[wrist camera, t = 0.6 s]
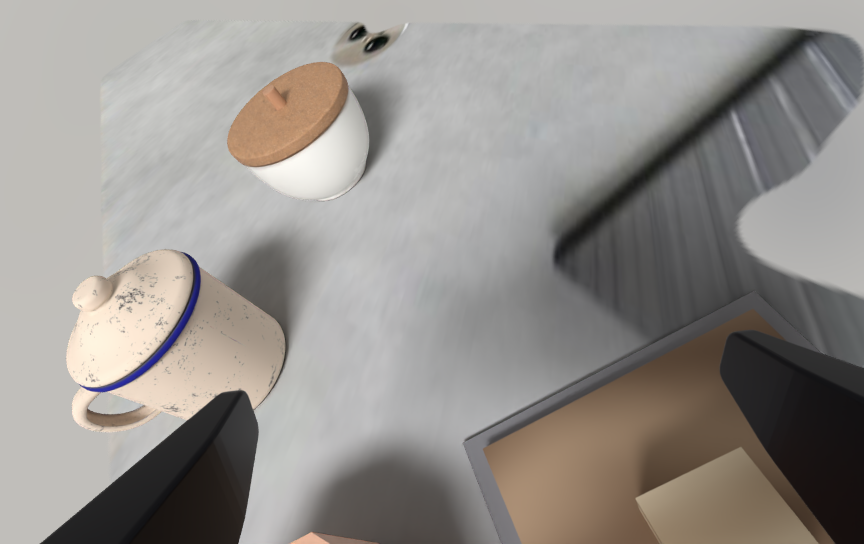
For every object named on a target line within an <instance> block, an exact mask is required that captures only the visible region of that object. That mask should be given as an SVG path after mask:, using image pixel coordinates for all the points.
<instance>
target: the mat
mask: <svg viewBox="0 0 864 544" xmlns="http://www.w3.org/2000/svg"><path fill="white" fill-rule="evenodd" d="M751 309H754V310H755V311H756V312H757V313H758V314H759V315H760V316H761V317H762V318H763V319H764V320H765V321H766V322H767V323H769V324H770V325H771V326H772V327H773V328H774V329H775V330H776V331H777V332H778V333H779V334H780V335H781V336H782V337H783V338H784V339H785V340H786V341H788V342H791V343H793V344H796V345H799V346H802V347H805V348H808V349H810V350H813V351H816V352H819V353H821V352H820V351H819V350H817V349H816V348H815V347H814V346H813V345H812V344H811V343H810V342H809V341H808V340H807V339H806V338H805V337H804V336H802V335H801V334H800V333H799V332H798V331H797V330H796V329H795V328H794V327H793V326H792V325H791V324H790V323H788V322H787V321H786V320H785V319H784V318H783V317H782V316H781V315H780V314H779V313H778V312H777V311H776V310H775V309H773V308H772V307H771V306H770V305H769V304H768V303H767V302H766V301H765V300H764V299H763V298H762V297H761V296H759V295H758V294H757V293H756V292H755V291H752V292H751V293H749V294H747V295H745V296H743V297H741V298H739V299H737V300H735V301H733V302H731V303H730V304H728V305H726V306H724V307H722V308H720V309H718V310H716V311H714V312H712V313H710V314H708V315H707V316H705V317H703V318H701V319H699V320H697V321H695V322H693V323H691V324H689V325H687V326H686V327H684V328H682V329H680V330H678V331H676V332H674V333H672V334H670V335H668V336H666V337H664V338H663V339H661V340H659V341H657V342H655V343H653V344H651V345H649V346H647V347H645V348H643V349H642V350H640V351H638V352H636V353H634V354H632V355H630V356H628V357H626V358H624V359H622V360H620V361H619V362H617V363H615V364H613V365H611V366H609V367H607V368H605V369H603V370H601V371H599V372H598V373H596V374H594V375H592V376H590V377H588V378H586V379H584V380H582V381H580V382H578V383H576V384H575V385H573V386H571V387H569V388H567V389H565V390H563V391H561V392H559V393H557V394H555V395H554V396H552V397H550V398H548V399H546V400H544V401H542V402H540V403H538V404H536V405H534V406H532V407H531V408H529V409H527V410H525V411H523V412H521V413H519V414H517V415H515V416H513V417H511V418H510V419H508V420H506V421H504V422H502V423H500V424H498V425H496V426H494V427H492V428H490V429H488V430H487V431H485V432H483V433H481V434H479V435H477V436H475V437H473V438H471V439H469V440H467V441H466V442H464V443H463V445H464V448H465V450H466V453H467V455H468V458H469V460H470V463H471V466H472V468H473V471H474V473H475V476H476V479H477V481H478V484H479V486H480V489H481V491H482V494H483V497H484V499H485V502H486V504H487V507H488V510H489V512H490V515H491V517H492V520H493V522H494V525H495V528H496V530H497V533H498V535H499V538H500V541H501V543H502V544H522V543H521V541H520V538H519V536H518V533H517V531H516V529H515V526H514V524H513V521H512V519H511V517H510V514H509V512H508V509H507V507H506V504H505V502H504V500H503V497H502V495H501V492H500V490H499V487H498V485H497V483H496V480H495V478H494V475H493V473H492V471H491V468H490V466H489V463H488V461H487V458H486V456H485V454H484V451H483V448H485V447H487V446H489V445H491V444H493V443H495V442H497V441H499V440H501V439H502V438H504V437H506V436H508V435H510V434H512V433H514V432H516V431H518V430H520V429H522V428H524V427H526V426H528V425H529V424H531V423H533V422H535V421H537V420H539V419H541V418H543V417H545V416H547V415H549V414H551V413H553V412H555V411H556V410H558V409H560V408H562V407H564V406H566V405H568V404H570V403H572V402H574V401H576V400H578V399H580V398H582V397H583V396H585V395H587V394H589V393H591V392H593V391H595V390H597V389H599V388H601V387H603V386H605V385H607V384H609V383H610V382H612V381H614V380H616V379H618V378H620V377H622V376H624V375H626V374H628V373H630V372H632V371H634V370H636V369H637V368H639V367H641V366H643V365H645V364H647V363H649V362H651V361H653V360H655V359H657V358H659V357H661V356H663V355H664V354H666V353H668V352H670V351H672V350H674V349H676V348H678V347H680V346H682V345H684V344H686V343H688V342H690V341H691V340H693V339H695V338H697V337H699V336H701V335H703V334H705V333H707V332H709V331H711V330H713V329H715V328H717V327H718V326H720V325H722V324H724V323H726V322H728V321H730V320H732V319H734V318H736V317H738V316H740V315H742V314H744V313H745V312H747V311H749V310H751Z"/></svg>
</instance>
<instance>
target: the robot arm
mask: <svg viewBox="0 0 864 544" xmlns="http://www.w3.org/2000/svg"><path fill="white" fill-rule="evenodd" d="M719 370H720V376H721V378H722V380H723V382H724V384H725V385H726V387H727V389H728V390H729V392H730V394H731V395H732V397H733V399H734V400H735V402H736V403H737V405H738V407H739V408H740V410H741V412H742V413H743V415H744V417H745V418H746V420H747V422H748V423H749V425H750V426H751V428H752V430H753V431H754V433H755V435H756V436H757V438H758V439H759V441H760V443H761V444H762V446H763V447H764V449H765V450H766V452H767V453H768V455H769V456H770V457H771V459H772V460H773V462H774V463H775V464H776V466H777V467H778V468H779V470H780V471H781V472H782V474H783V475H784V476H785V478H786V479H787V480H788V482H789V483H790V484H791V486H792V487H793V488H794V490H795V491H796V492H797V494H798V495H799V496H800V498H801V499H802V500H803V502H804V503H805V504H806V506H807V507H808V508H809V510H810V511H811V512H812V514H813V515H814V517H815V518H816V519H817V521H818V522H819V523H820V525H821V526H822V527H823V529H824V530H825V531H826V533H827V534H828V535H829V537H830V538H831V539H832V541H833V542H834V543H835V544H864V368H861V367H858V366H856V365H853V364H850V363H847V362H844V361H841V360H839V359H836V358H833V357H830V356H827V355H824V354H822V353H819V352H816V351H813V350H810V349H808V348H805V347H802V346H799V345H796V344H793V343H791V342H788V341H785V340H782V339H779V338H776V337H774V336H771V335H768V334H765V333H762V332H759V331H756V330H744V331H735V332H732V333H730V334H729V335H728V337H727V339H726V342H725V346H724V350H723V354H722V358H721V362H720V367H719ZM258 433H259V430H258V423H257V420H256V417H255V414H254V411H253V408H252V405H251V402H250V399H249V396H248V394H247V393H246V392H245V391H243V390H235V391H227V392H222V393H220V394H219V395H217V396H216V397H215V398H214V399H212V400H211V401H210V402H209V403H208V404H206V405H205V406H204V407H203V408H202V409H200V410H199V411H198V412H197V413H196V414H194V415H193V416H192V417H191V418H190V419H188V420H187V421H186V422H185V423H184V424H182V425H181V426H180V427H179V428H178V429H177V430H175V431H174V432H173V433H172V434H171V435H169V436H168V437H167V438H166V439H165V440H163V441H162V442H161V443H160V444H159V445H157V446H156V447H155V448H154V449H153V450H151V451H150V452H149V453H148V454H147V455H145V456H144V457H143V458H142V459H141V460H139V461H138V462H137V463H136V464H135V465H134V466H132V467H131V468H130V469H129V470H128V471H126V472H125V473H124V474H123V475H122V476H120V477H119V478H118V479H117V480H116V481H114V482H113V483H112V484H111V485H110V486H108V487H107V488H106V489H105V490H104V491H102V492H101V493H100V494H99V495H98V496H97V497H95V498H94V499H93V500H92V501H91V502H89V503H88V504H87V505H86V506H85V507H83V508H82V509H81V510H80V511H79V512H77V513H76V514H75V515H74V516H73V517H72V518H70V519H69V520H68V521H67V522H65V523H64V524H63V525H62V526H61V527H59V528H58V529H57V530H56V531H55V532H53V533H52V534H51V535H50V536H49V537H47V538H46V539H45V540H44V541H43V542H41V543H40V544H238V543H239V539H240V535H241V532H242V528H243V523H244V519H245V515H246V509H247V504H248V498H249V491H250V485H251V479H252V473H253V466H254V460H255V454H256V448H257V442H258Z"/></svg>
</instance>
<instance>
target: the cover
mask: <svg viewBox="0 0 864 544" xmlns="http://www.w3.org/2000/svg"><path fill="white" fill-rule="evenodd" d="M744 330H756V331H759V332H762V333H765V334H768V335H771V336H774V337H776V338H779V339H782V340H785V339H784V338H783V337H782V336H781V335H780V334H779V333H778V332H777V331H776V330H775V329H774V328H773V327H772V326H771V325H770V324H769V323H767V322H766V321H765V320H764V319H763V318H762V317H761V316H760V315H759V314H758V313H757V312H756V311H755V310H754V309H751V310H749V311H747V312H745V313H744V314H742V315H740V316H738V317H736V318H734V319H732V320H730V321H728V322H726V323H724V324H722V325H720V326H718V327H717V328H715V329H713V330H711V331H709V332H707V333H705V334H703V335H701V336H699V337H697V338H695V339H693V340H691V341H690V342H688V343H686V344H684V345H682V346H680V347H678V348H676V349H674V350H672V351H670V352H668V353H666V354H664V355H663V356H661V357H659V358H657V359H655V360H653V361H651V362H649V363H647V364H645V365H643V366H641V367H639V368H637V369H636V370H634V371H632V372H630V373H628V374H626V375H624V376H622V377H620V378H618V379H616V380H614V381H612V382H610V383H609V384H607V385H605V386H603V387H601V388H599V389H597V390H595V391H593V392H591V393H589V394H587V395H585V396H583V397H582V398H580V399H578V400H576V401H574V402H572V403H570V404H568V405H566V406H564V407H562V408H560V409H558V410H556V411H555V412H553V413H551V414H549V415H547V416H545V417H543V418H541V419H539V420H537V421H535V422H533V423H531V424H529V425H528V426H526V427H524V428H522V429H520V430H518V431H516V432H514V433H512V434H510V435H508V436H506V437H504V438H502V439H501V440H499V441H497V442H495V443H493V444H491V445H489V446H487V447H485V448H483V451H484V454H485V456H486V458H487V461H488V463H489V466H490V468H491V471H492V473H493V475H494V478H495V480H496V483H497V485H498V487H499V490H500V492H501V495H502V497H503V500H504V502H505V504H506V507H507V509H508V512H509V514H510V517H511V519H512V521H513V524H514V526H515V529H516V531H517V533H518V536H519V538H520V541H521V543H522V544H835V543H834V542H833V541H832V539H831V538H830V537H829V535H828V534H827V533H826V531H825V530H824V529H823V527H822V526H821V525H820V523H819V522H818V521H817V519H816V518H815V517H814V515H813V514H812V512H811V511H810V510H809V508H808V507H807V506H806V504H805V503H804V502H803V500H802V499H801V498H800V496H799V495H798V494H797V492H796V491H795V490H794V488H793V487H792V486H791V484H790V483H789V482H788V480H787V479H786V478H785V476H784V475H783V474H782V472H781V471H780V470H779V468H778V467H777V466H776V464H775V463H774V462H773V460H772V459H771V457H770V456H769V455H768V453H767V452H766V450H765V449H764V447H763V446H762V444H761V443H760V441H759V439H758V438H757V436H756V435H755V433H754V431H753V430H752V428H751V426H750V425H749V423H748V422H747V420H746V418H745V417H744V415H743V413H742V412H741V410H740V408H739V407H738V405H737V403H736V402H735V400H734V399H733V397H732V395H731V394H730V392H729V390H728V389H727V387H726V385H725V384H724V382H723V380H722V378H721V376H720V370H719V367H720V362H721V358H722V354H723V350H724V346H725V342H726V339H727V337H728V335H729V334H730V333H732V332H735V331H744ZM785 341H786V340H785Z"/></svg>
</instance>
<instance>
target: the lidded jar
mask: <svg viewBox="0 0 864 544" xmlns="http://www.w3.org/2000/svg"><path fill="white" fill-rule="evenodd" d="M227 145H228V149H229V151H230V153H231V154H232V155H233V156H234V158H236V159H237V160H238V161H239V162H240V163H242V164H243V165H245V166H246V167H247V168H248V169H249V170H250V171H251V172H252V173H253V174H254V175H255V176H256V177H257V178H259V179H260V180H261V181H262V182H264V183H265V184H266V185H268V186H269V187H271V188H272V189H274V190H275V191H277V192H279V193H281V194H283V195H286V196H288V197H291V198H294V199H299V200H317V201H329V200H333V199H335V198H338V197H340V196H342V195H343V194H345V193H346V192H348V191H349V190H350V189H351V188H353V187H354V186H355V185H356V184H357V182H358V181H359V180H360V178H361V177H362V175H363V173H364V171H365V168H366V158H367V155H368V150H369V132H368V126H367V122H366V119H365V117H364V114H363V111H362V109H361V107H360V105H359V102H358V100H357V99H356V97H355V95H354V93H353V92H352V90H351V89H350V87H349V85H348V83H347V80H346V78H345V76H344V75H343V73H342V71H341V70H340V69H339V68H338V67H337V66H335V65H334V64H331V63H327V62H316V63H311V64H306V65H303V66H300V67H298V68H295V69H293V70H291V71H289V72H287V73H285V74H283V75H282V76H280V77H278V78H277V79H275V80H273V81H272V82H271V83H269V84H268V85H267V86H265V87H264V88H263V89H262V90H260V91H259V92H258V93H257V94H256V95H255V96H254V97H253V98H252V99H251V100H250V101H249V102H248V103H247V104H246V105H245V106H244V107H243V109H242V110H241V111H240V113H239V114H238V115H237V117H236V118H235V120H234V122H233V124H232V126H231V128H230V131H229V134H228V141H227Z"/></svg>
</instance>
